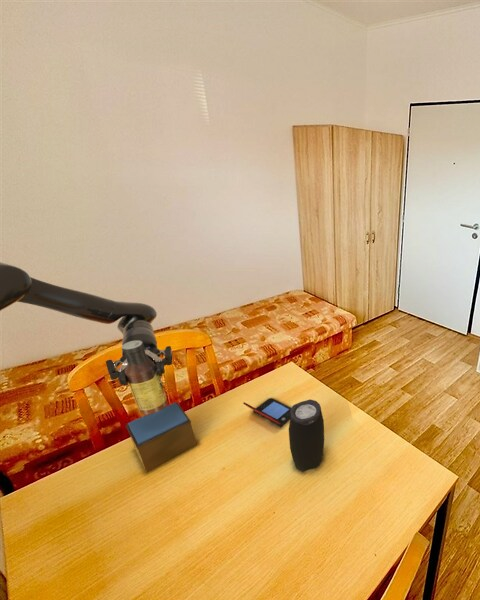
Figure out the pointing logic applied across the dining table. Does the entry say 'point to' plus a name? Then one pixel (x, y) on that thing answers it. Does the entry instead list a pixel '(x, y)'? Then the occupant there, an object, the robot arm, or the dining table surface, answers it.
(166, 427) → the mat
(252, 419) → the dining table surface
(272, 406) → the handheld console
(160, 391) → the sauce bottle
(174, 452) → the blue topped brown block
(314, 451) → the portable speaker
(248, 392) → the dining table surface
